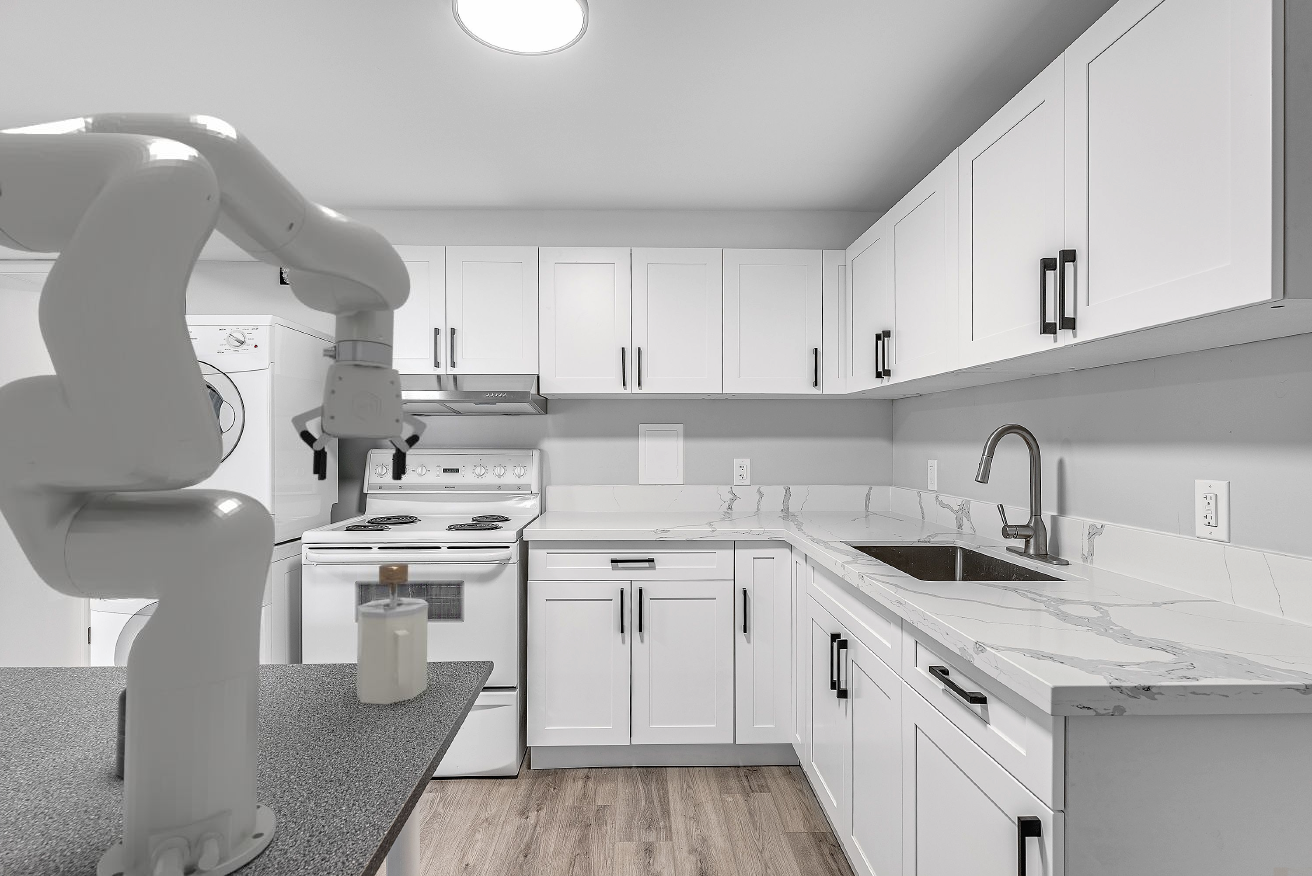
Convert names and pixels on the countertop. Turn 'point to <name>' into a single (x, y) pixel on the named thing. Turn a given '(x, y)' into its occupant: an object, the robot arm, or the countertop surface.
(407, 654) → the press pot
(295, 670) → the countertop surface
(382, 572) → the plunger
